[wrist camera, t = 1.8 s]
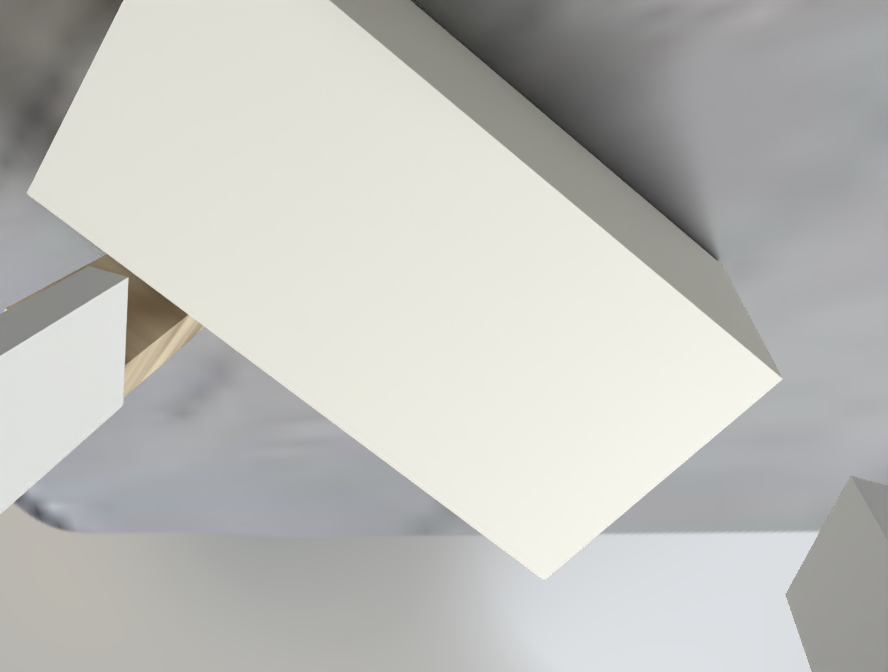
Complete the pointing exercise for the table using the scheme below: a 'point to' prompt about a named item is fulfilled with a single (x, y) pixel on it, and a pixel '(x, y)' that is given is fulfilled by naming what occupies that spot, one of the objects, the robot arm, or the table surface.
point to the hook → (144, 324)
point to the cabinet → (408, 255)
